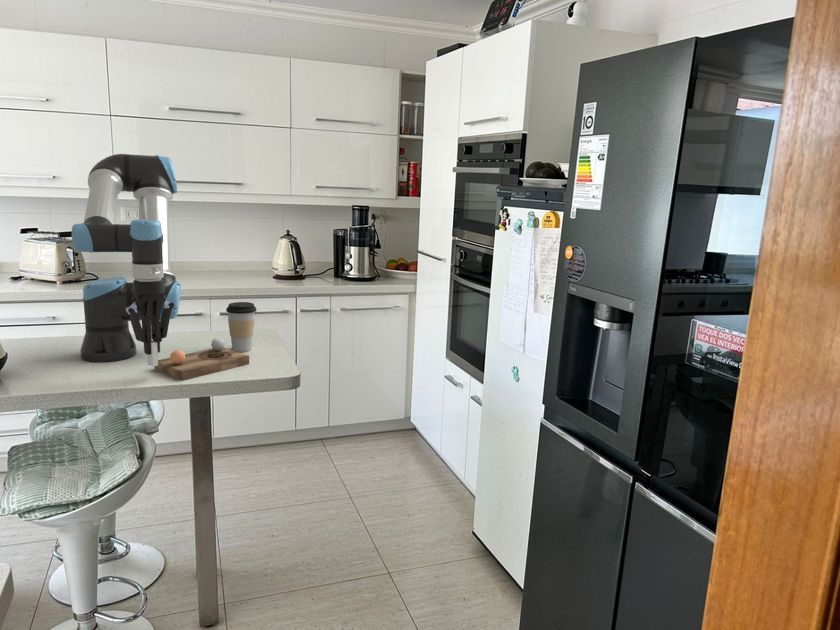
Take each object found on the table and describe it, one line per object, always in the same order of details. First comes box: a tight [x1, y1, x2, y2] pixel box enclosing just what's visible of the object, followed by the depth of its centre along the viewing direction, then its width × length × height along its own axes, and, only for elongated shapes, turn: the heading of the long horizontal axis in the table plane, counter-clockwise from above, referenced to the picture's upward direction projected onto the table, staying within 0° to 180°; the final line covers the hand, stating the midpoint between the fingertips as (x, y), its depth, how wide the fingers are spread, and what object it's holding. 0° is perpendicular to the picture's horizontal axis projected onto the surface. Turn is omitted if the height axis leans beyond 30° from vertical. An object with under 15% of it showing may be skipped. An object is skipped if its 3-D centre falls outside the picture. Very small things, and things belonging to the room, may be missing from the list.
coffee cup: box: [225, 301, 257, 353], centre depth 197 cm, size 9×9×15 cm
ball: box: [169, 349, 185, 364], centre depth 172 cm, size 4×4×4 cm
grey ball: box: [210, 337, 226, 351], centre depth 187 cm, size 4×4×4 cm
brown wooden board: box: [154, 347, 250, 381], centre depth 179 cm, size 14×22×2 cm, turn 143°
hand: (152, 364), depth 166 cm, fingers closed
